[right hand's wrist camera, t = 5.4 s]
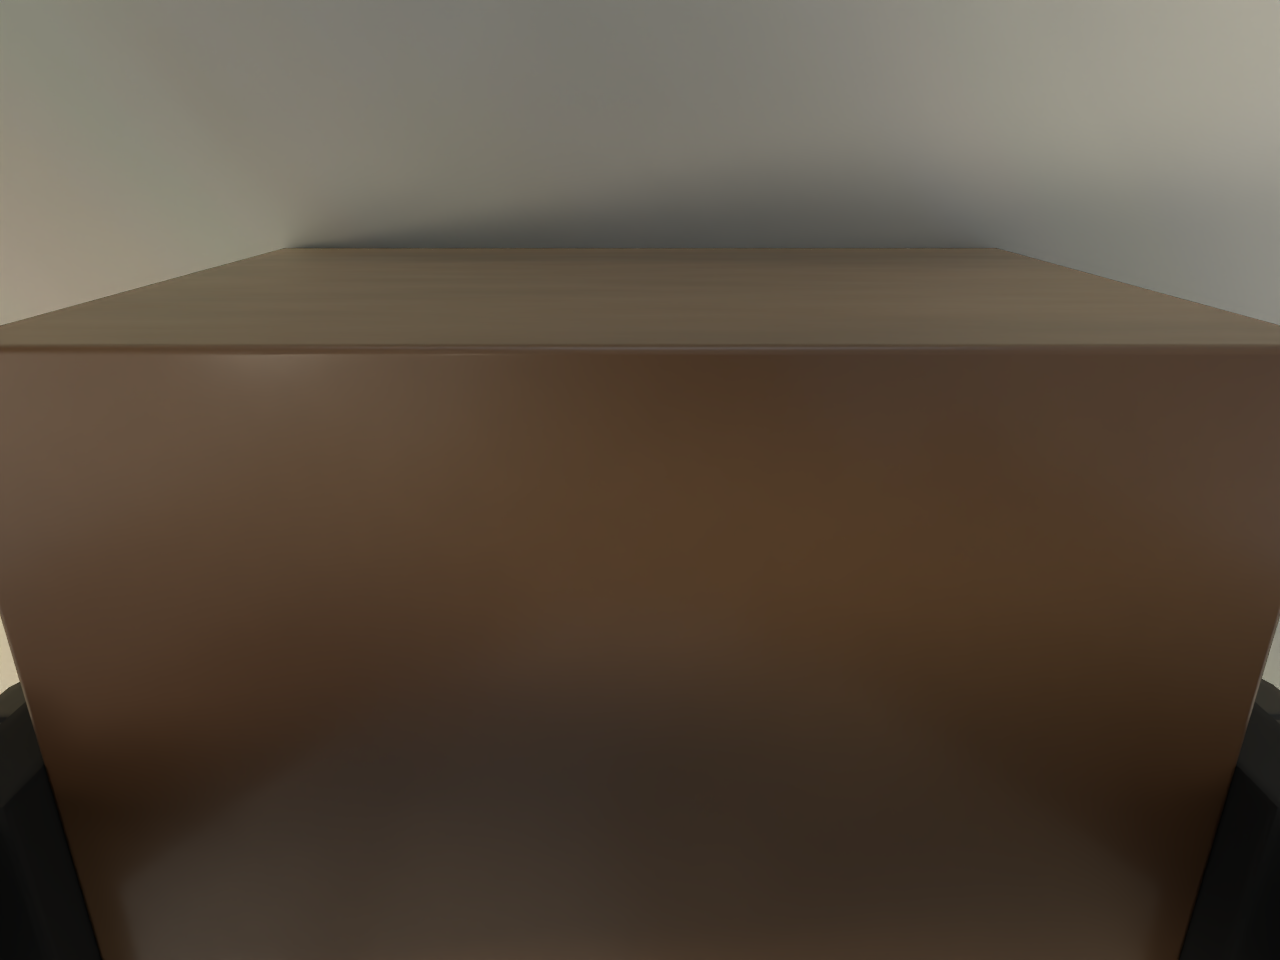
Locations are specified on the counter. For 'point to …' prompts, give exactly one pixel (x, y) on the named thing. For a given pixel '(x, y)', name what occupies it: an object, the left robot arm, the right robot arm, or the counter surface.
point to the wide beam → (640, 602)
